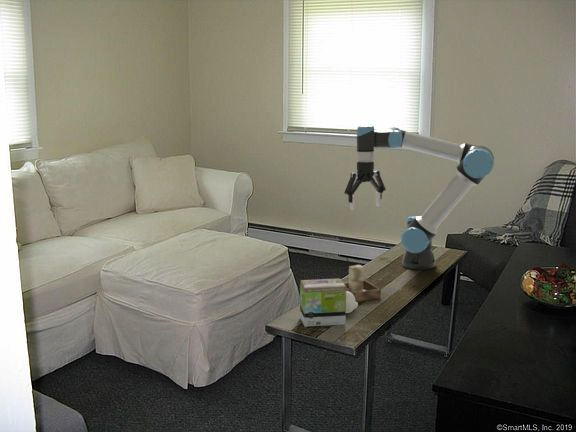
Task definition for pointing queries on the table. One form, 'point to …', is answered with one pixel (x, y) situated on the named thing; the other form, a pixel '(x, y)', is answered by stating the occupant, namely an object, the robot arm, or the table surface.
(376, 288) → the open brown box
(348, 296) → the rabbit
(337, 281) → the tea box
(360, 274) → the beige block
